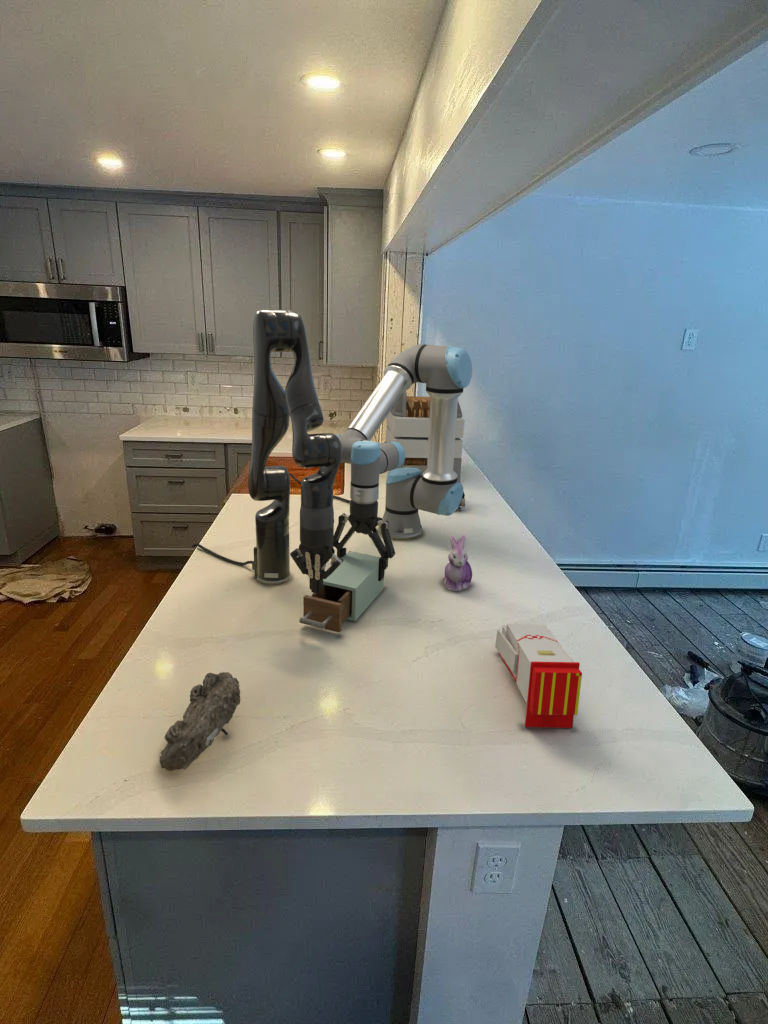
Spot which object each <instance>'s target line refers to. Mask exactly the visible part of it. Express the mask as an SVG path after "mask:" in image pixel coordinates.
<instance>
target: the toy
mask: <svg viewBox="0 0 768 1024" xmlns="http://www.w3.org/2000/svg"><path fill="white" fill-rule="evenodd" d="M551 631H552V630H551V629H550V628H548V627H547V625H546V624H545V623H506V625H502V628H501V629H500V628H499V629H497V630H496V636H495V637H496V638H495V644H494V647H495V649H496V651H497V652H498V655H499V657H500V659H501V661H502V662H503V664H504V666H505V667H506V669H507V670H508V672H509V674H510V676H511V677H512V679H513V680H514V682H515V683H516V686H517V688H518V690H519V693H520V694H521V695H522V698H523V700H524V702H525V704H526V708H525V709H526V710H525V721H524V727H525V728H552V729H553V728H555V729H556V728H557V729H562V728H563V729H573V726H574V719H575V716H578V712H579V703H580V695H581V687H582V677H583V672H582V670H580V667H581V665H580V662H578V661H573V659H572V657H570V656H569V655H570V654H568V653H567V651H566V650H565V649H564V647H563V646H562V645H561V644H560V641H558V639H557V638H556V637H555V636H554V634H553V633H552V632H551Z"/></svg>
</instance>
